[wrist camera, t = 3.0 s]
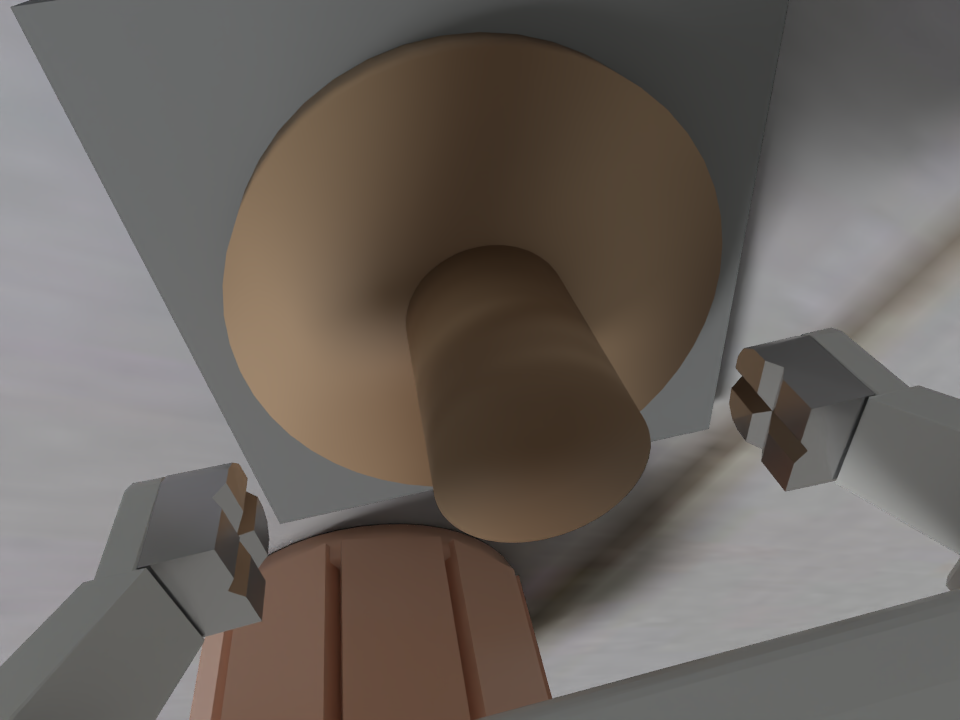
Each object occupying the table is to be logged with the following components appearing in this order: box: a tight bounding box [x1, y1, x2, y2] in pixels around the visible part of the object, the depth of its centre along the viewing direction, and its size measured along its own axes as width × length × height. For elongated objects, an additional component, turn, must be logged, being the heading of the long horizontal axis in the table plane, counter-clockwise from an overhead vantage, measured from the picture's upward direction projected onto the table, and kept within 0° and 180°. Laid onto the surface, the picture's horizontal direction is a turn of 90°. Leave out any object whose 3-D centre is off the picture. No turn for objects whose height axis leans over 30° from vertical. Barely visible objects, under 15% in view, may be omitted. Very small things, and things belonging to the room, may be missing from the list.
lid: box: [223, 32, 722, 543], centre depth 11 cm, size 10×10×5 cm
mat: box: [11, 0, 789, 524], centre depth 13 cm, size 12×12×1 cm
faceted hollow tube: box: [189, 524, 552, 720], centre depth 19 cm, size 10×11×6 cm
